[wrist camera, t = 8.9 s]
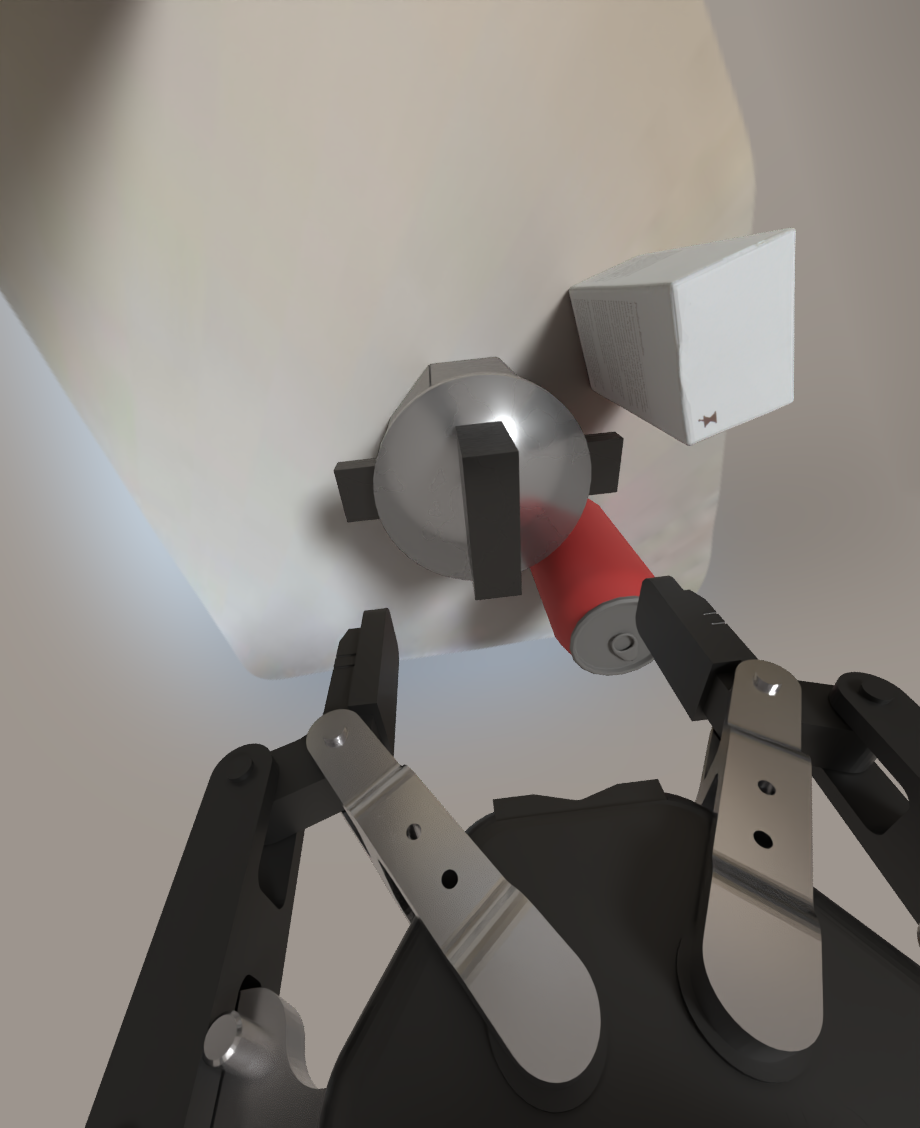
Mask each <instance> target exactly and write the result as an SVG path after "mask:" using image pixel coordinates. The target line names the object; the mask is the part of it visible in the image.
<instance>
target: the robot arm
mask: <svg viewBox="0 0 920 1128" xmlns="http://www.w3.org/2000/svg"><path fill="white" fill-rule="evenodd" d="M635 620H636V627H637V630H638V633H639V635H640V637H641V638H642V640H643V642H644V643H645V645H646V646H647V648H648V650H649V651H650V653H651V655H652V656H653V658H654V660H655V661H656V663H657V665H658V666H659V668H660V669H661V671H662V673H663V674H664V676H665V677H666V679H667V681H668V683H669V684H670V686H671V687H672V689H673V691H674V692H675V694H676V696H677V697H678V699H679V700H680V702H681V704H682V705H683V707H684V709H685V710H686V712H687V714H688V715H689V717H690V718H691V720H692V721H698V720H707V719H708V720H709V722H710V723H711V725H712V729H711V731H710V735H709V740H708V745H707V751H706V756H705V761H704V766H703V772H702V777H701V782H700V787H699V791H698V794H697V798H696V801H695V802H693V801H691V800H689V799H686V798H683V797H681V796H678V795H674V794H670V793H664V791H663V789H662V787H661V785H660V783H659V781H658V779H655V780H646V781H638V782H630V783H622V784H616V785H614V786H612V787H610V788H607V789H605V790H603V791H600V792H598V793H596V794H594V795H591V796H589V797H587V798H584V799H582V800H569V799H563V798H555V797H548V796H541V795H526V796H518V797H509V798H502V799H493V805H494V812H493V813H491V814H488V815H486V816H484V817H483V818H481V819H480V820H478V821H476V822H475V823H474V824H473V825H472V826H470V827H469V828H468V829H467V830H466V831H464V830H463V829H462V828H461V827H460V825H459V824H458V823H457V822H456V821H455V820H454V818H453V817H452V816H451V815H450V814H449V812H448V811H447V810H446V809H445V808H444V807H443V805H442V804H441V803H440V802H439V801H438V800H437V798H436V797H435V796H434V795H433V794H432V793H431V791H430V790H429V789H428V788H427V787H426V786H425V784H424V783H423V782H422V781H421V780H420V779H419V777H418V776H417V775H416V774H415V773H414V772H413V771H412V770H411V768H409V767H408V766H407V765H403V766H401V765H400V764H399V763H398V762H397V761H396V760H395V759H394V742H395V740H394V739H395V723H396V705H397V688H398V670H399V652H398V645H397V640H396V636H395V632H394V627H393V623H392V619H391V615H390V611H389V609H388V608H384V609H375V610H367V611H364V613H363V618H362V624H361V628H355V629H348V631H347V632H346V634H345V635H344V636H343V638H342V639H341V640H340V642H339V646H338V650H337V655H336V659H335V664H334V670H333V673H332V677H331V682H330V686H329V691H328V695H327V700H326V704H325V709H324V713H323V716H321V717H320V718H319V719H318V720H317V721H316V722H315V723H314V724H313V725H312V726H311V728H310V730H309V732H308V734H307V735H305V736H304V737H302V738H301V739H299V740H297V741H295V742H292V743H290V744H287V745H285V746H283V747H280V748H278V749H275V750H273V751H269V749H268V748H267V747H265V746H263V745H261V744H247V745H244V746H241V747H239V748H237V749H235V750H233V751H231V752H230V753H229V754H227V755H226V756H225V757H224V758H223V759H222V760H221V761H220V762H219V763H218V764H217V766H216V767H215V769H214V771H213V772H212V775H211V777H210V780H209V783H208V786H207V788H206V791H205V794H204V797H203V800H202V802H201V805H200V808H199V810H198V814H197V816H196V819H195V822H194V824H193V828H192V830H191V833H190V836H189V838H188V841H187V844H186V847H185V850H184V853H183V855H182V858H181V861H180V864H179V866H178V869H177V872H176V875H175V877H174V880H173V883H172V886H171V889H170V892H169V895H168V897H167V900H166V903H165V906H164V908H163V911H162V914H161V917H160V919H159V922H158V925H157V928H156V931H155V933H154V936H153V939H152V942H151V945H150V947H149V950H148V953H147V956H146V958H145V962H144V964H143V967H142V970H141V972H140V975H139V978H138V981H137V984H136V986H135V989H134V992H133V995H132V997H131V1000H130V1003H129V1006H128V1009H127V1011H126V1014H125V1017H124V1020H123V1023H122V1025H121V1028H120V1031H119V1034H118V1037H117V1039H116V1042H115V1045H114V1048H113V1050H112V1053H111V1056H110V1059H109V1062H108V1064H107V1067H106V1070H105V1073H104V1076H103V1078H102V1081H101V1084H100V1087H99V1089H98V1092H97V1095H96V1098H95V1101H94V1104H93V1106H92V1109H91V1112H90V1115H89V1117H88V1120H87V1123H86V1126H85V1128H920V966H919V965H918V964H917V963H915V962H914V961H913V960H911V959H910V958H909V957H907V956H906V955H904V954H903V953H901V952H900V951H899V950H897V949H896V948H895V947H894V946H892V945H891V944H890V943H888V942H887V941H886V940H884V939H883V938H882V937H880V936H879V935H877V934H876V933H875V932H873V931H872V930H871V929H870V928H868V927H867V926H865V925H864V924H863V923H861V922H860V921H859V920H857V919H856V918H855V917H853V916H852V915H851V914H849V913H848V912H846V911H845V910H844V909H842V908H841V907H840V906H839V905H837V904H836V903H834V902H833V901H832V900H830V899H829V898H828V897H826V896H825V895H824V894H822V893H821V892H820V891H818V890H817V889H816V888H814V887H813V849H812V848H813V846H812V777H813V778H814V779H815V781H816V782H817V784H818V785H819V786H820V788H821V789H822V790H823V792H824V793H825V795H826V796H827V798H828V799H829V800H830V802H831V803H832V805H833V806H834V807H835V809H836V810H837V812H838V813H839V814H840V816H841V817H842V818H843V820H844V821H845V823H846V824H847V825H848V827H849V828H850V830H851V831H852V833H853V834H854V835H855V837H856V838H857V840H858V841H859V842H860V844H861V845H862V847H863V848H864V849H865V851H866V852H867V853H868V855H869V856H870V858H871V859H872V861H873V862H874V863H875V865H876V866H877V867H878V869H879V870H880V872H881V873H882V875H883V876H884V877H885V879H886V880H887V882H888V883H889V884H890V886H891V887H892V889H893V890H894V891H895V893H896V894H897V896H898V897H899V898H900V899H901V901H902V902H903V904H904V905H905V907H906V908H907V909H908V911H909V912H910V914H911V915H912V917H913V918H914V919H915V921H916V922H917V924H918V925H919V926H918V930H917V939H918V943H919V947H920V707H919V706H918V705H917V704H916V703H915V702H914V701H913V700H912V699H910V697H909V696H907V694H905V693H904V692H903V691H902V690H901V689H900V688H898V687H897V686H895V685H894V684H892V683H890V682H888V681H886V680H884V679H882V678H880V677H877V676H874V675H871V674H866V673H861V672H850V673H845V674H843V675H841V676H840V677H839V679H838V680H837V682H836V683H835V685H827V684H820V683H813V682H805V681H799V680H797V679H796V678H795V677H794V676H793V675H792V674H791V673H790V672H788V671H787V670H786V669H784V668H782V667H781V666H778V665H776V664H774V663H771V662H768V661H764V660H758V659H757V658H756V656H755V655H754V654H753V653H752V652H751V651H750V650H749V648H747V646H746V645H745V644H744V643H743V642H742V640H741V639H740V638H739V637H738V636H737V635H736V634H735V632H734V631H733V630H732V629H731V628H730V627H729V626H728V624H725V621H724V620H723V619H722V618H721V617H720V615H719V614H716V611H715V610H714V609H713V607H712V606H711V605H710V604H709V603H708V602H707V601H706V600H705V599H704V598H702V597H701V596H699V595H697V594H696V593H694V592H693V591H691V590H683V589H682V588H681V587H680V585H679V584H678V583H677V582H676V581H675V579H674V578H673V577H671V576H662V577H653V578H646V579H644V580H643V582H642V585H641V590H640V595H639V600H638V605H637V610H636V616H635ZM876 758H878V759H879V761H880V762H881V763H882V764H883V765H884V766H885V768H886V769H887V770H888V771H889V772H890V773H891V774H892V775H893V777H894V778H895V779H896V780H897V781H898V782H899V783H900V785H901V786H902V787H903V789H904V790H905V792H906V794H907V796H908V799H909V801H908V800H907V799H906V798H905V797H904V796H903V794H902V793H901V792H900V791H899V790H898V788H897V787H896V786H895V785H894V784H893V783H892V781H891V780H890V779H889V778H888V777H887V776H886V774H885V773H884V772H883V771H882V770H881V769H880V768H879V766H878V765H877V764H876V763H875V762H874V761H875V760H876ZM339 812H340V813H341V814H342V816H343V817H344V819H345V820H346V822H347V824H348V825H349V827H350V828H351V830H352V832H353V833H354V835H355V836H356V838H357V839H358V841H359V843H360V844H361V846H362V847H363V849H364V851H365V852H366V854H367V855H368V856H369V858H370V860H371V862H372V863H373V865H374V866H375V868H376V870H377V871H378V873H379V875H380V877H381V879H382V880H383V882H384V884H385V886H386V887H387V889H388V890H389V892H390V894H391V895H392V897H393V898H394V900H395V902H396V903H397V905H398V906H399V908H400V910H401V911H402V913H403V914H404V916H405V918H406V919H407V921H408V922H409V924H410V926H409V928H408V930H407V931H406V933H405V935H404V937H403V939H402V941H401V943H400V944H399V946H398V948H397V950H396V952H395V953H394V955H393V957H392V959H391V961H390V963H389V964H388V967H387V968H386V970H385V972H384V974H383V976H382V977H381V979H380V981H379V983H378V985H377V986H376V988H375V990H374V992H373V994H372V996H371V997H370V999H369V1001H368V1003H367V1005H366V1006H365V1008H364V1010H363V1012H362V1014H361V1016H360V1017H359V1019H358V1021H357V1023H356V1025H355V1027H354V1028H353V1030H352V1032H351V1034H350V1036H349V1037H348V1039H347V1041H346V1043H345V1045H344V1047H343V1049H342V1050H341V1052H340V1054H339V1056H338V1059H337V1061H336V1063H335V1066H334V1068H333V1071H332V1073H331V1076H330V1079H329V1082H328V1085H327V1088H324V1089H318V1088H317V1087H316V1086H315V1085H314V1083H313V1082H312V1080H311V1078H310V1076H309V1074H308V1070H307V1066H306V1061H305V1032H304V1026H303V1022H302V1019H301V1017H300V1015H299V1013H298V1012H297V1010H296V1009H295V1008H294V1007H293V1006H291V1005H290V1004H289V1003H287V1002H286V1001H285V1000H283V999H282V998H281V997H279V994H280V988H281V981H282V975H283V968H284V962H285V954H286V948H287V942H288V935H289V928H290V922H291V915H292V909H293V902H294V896H295V890H296V883H297V877H298V870H299V864H300V857H301V851H302V844H303V837H304V831H305V829H306V828H308V827H310V826H312V825H314V824H316V823H318V822H320V821H322V820H324V819H326V818H329V817H331V816H332V815H335V814H337V813H339Z"/></svg>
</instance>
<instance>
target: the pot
mask: <svg viewBox="0 0 920 1128" xmlns="http://www.w3.org/2000/svg"><path fill="white" fill-rule="evenodd" d="M473 372H497V373H506V374H510V375H514V376H517V375H516V374H515V373H514V372H513V371H512V370H511V369H510V368H509V367H508V366H507V365H506V364H505V363H504V362H503V361H502V360H501V359H500V358H497V357H489V358H480V359H471V360H462V361H453V362H444V363H435V364H430V366H429V365H428V366H427V368H426V369H425V371H424V372H423V373H422V375H421V376H420V377H419V379H418V380H417V382H416V383H415V384H414V386H413V387H412V389H411V390H410V391H409V393H408V394H407V396H406V397H405V398H404V400H403V401H402V402H401V404H400V405H399V407H398V408H397V409H396V411H395V412H394V414H393V415H392V416H391V418H390V421H389V425H388V428H389V426H390V425H391V423H392V422H393V420H394V418H395V417H396V416H397V415H398V414H399V412H400V411H401V410H402V409H403V408H404V407H405V406H406V405H407V404H408V403H409V402H410V401H411V400H412V399H413V398H414V397H416V396H417V395H418V394H420V393H421V392H423V391H424V390H426V389H427V388H429V387H431V386H433V385H435V384H437V383H439V382H441V381H443V380H446V379H449V378H452V377H455V376H457V375H462V374H468V373H473ZM388 428H387V430H388ZM584 436H585V439H586V442H587V445H588V449H589V452H590V460H591V484H590V491H589V495H595V494H604V493H613V492H617V487H618V479H619V471H620V463H621V455H622V447H623V439H624V438H622V437H621V436H620V435H619V434H617V433H616V432H607V433H598V434H589V435H584ZM376 459H377V458H373V459H364V460H355V461H346V462H338V463H337V465H336V467H335V469H334V474H335V477H336V481H337V485H338V489H339V492H340V496H341V500H342V504H343V507H344V511H345V515H346V519H347V522H354V521H363V520H372V519H380V517H379V514H378V511H377V508H376V504H375V497H374V483H373V477H374V470H375V463H376Z"/></svg>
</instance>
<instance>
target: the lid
mask: <svg viewBox="0 0 920 1128" xmlns="http://www.w3.org/2000/svg"><path fill="white" fill-rule="evenodd" d="M373 483H374V497H375V504H376V508H377V511H378V514H379V517H380V520H381V522H382V524H383V526H384V528H385V530H386V532H387V533H388V535H389V536H390V538H391V539H392V541H393V542H394V543H395V544H396V545H397V547H398V548H399V549H400V550H401V551H402V552H403V553H404V554H406V555H407V556H408V557H409V558H410V559H412V560H413V561H414V562H416V563H417V564H419V565H421V566H422V567H424V568H426V569H428V570H430V571H432V572H435V573H437V574H440V575H443V576H447V577H451V578H456V579H462V580H472V581H473V587H474V593H475V600H482V599H491V598H499V597H508V596H517V595H522V591H521V571H523V570H526V569H528V568H530V567H531V566H533V565H535V564H537V563H539V562H540V561H542V560H543V559H545V558H546V557H547V556H549V555H550V554H551V553H552V552H553V551H555V550H556V549H557V548H558V547H559V546H560V545H561V544H562V543H563V542H564V541H565V540H566V538H567V537H568V536H569V534H570V533H571V532H572V530H573V529H574V528H575V526H576V524H577V522H578V521H579V519H580V517H581V515H582V513H583V510H584V508H585V506H586V502H587V499H588V495H589V491H590V484H591V460H590V452H589V449H588V445H587V442H586V439H585V436H584V434H583V432H582V430H581V428H580V426H579V424H578V423H577V421H576V420H575V418H574V416H573V415H572V414H571V413H570V411H569V410H568V409H567V408H566V407H565V406H564V405H563V404H562V403H561V402H560V401H559V400H558V399H557V398H555V397H554V396H553V395H552V394H551V393H549V392H548V391H547V390H545V389H544V388H542V387H540V386H539V385H537V384H535V383H533V382H531V381H529V380H526V379H524V378H521V377H518V376H514V375H510V374H506V373H497V372H473V373H468V374H462V375H457V376H455V377H452V378H449V379H446V380H443V381H441V382H439V383H437V384H435V385H433V386H431V387H429V388H427V389H426V390H424V391H423V392H421V393H420V394H418V395H417V396H416V397H414V398H413V399H412V400H411V401H410V402H409V403H408V404H407V405H406V406H405V407H404V408H403V409H402V410H401V411H400V412H399V414H398V415H397V416H396V417H395V418H394V420H393V422H392V423H391V425H390V426H389V428H388V430H387V431H386V434H385V436H384V438H383V440H382V443H381V445H380V449H379V452H378V456H377V459H376V463H375V470H374V477H373Z"/></svg>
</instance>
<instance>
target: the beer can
mask: <svg viewBox="0 0 920 1128" xmlns="http://www.w3.org/2000/svg"><path fill="white" fill-rule="evenodd" d="M530 569H531V572H532V575H533V578H534V580H535V583H536V586H537V589H538V591H539V594H540V597H541V599H542V602H543V605H544V608H545V610H546V613H547V616H548V618H549V621H550V624H551V627H552V629H553V632H554V635H555V637H556V639H557V640H558V641H559V643H560V644H561V645H562V646H563V647H564V648H565V649H566V650H567V651H568V652H569V653H570V654H571V655H572V657H573V660H574V661H575V662H576V663H577V664H578V665H579V666H580V667H581V668H582V669H584V670H587V671H589V672H591V673H593V674H600V675H607V676H609V675H619V674H625V673H628V672H632V671H635V670H638V669H640V668H641V667H643V666H645V665H647V664H649V663H651V662H652V661H653V660H654V658H653V656H652V655H651V653H650V651H649V650H648V648H647V646H646V645H645V643H644V642H643V640H642V638H641V637H640V635H639V633H638V630H637V627H636V620H635V616H636V610H637V605H638V600H639V595H640V590H641V585H642V582H643V580H644V579H646V578H653V577H654V575H653V574H652V573H651V571H650V570H649V569H648V568H647V566H646V565H645V564H644V562H643V561H642V560H641V559H640V557H639V556H638V555H637V554H636V552H635V551H634V550H633V548H632V547H631V546H630V545H629V543H628V542H627V541H626V539H625V538H624V537H623V536H622V534H621V533H620V532H619V531H618V529H617V528H616V527H615V525H614V524H613V523H612V522H611V520H610V519H609V518H608V517H607V515H606V514H605V513H604V511H603V510H602V509H601V508H600V506H599V505H597V504H596V503H594V502H593V501H591V500H590V499H587V502H586V506H585V508H584V510H583V513H582V515H581V517H580V519H579V521H578V522H577V524H576V526H575V528H574V529H573V530H572V532H571V533H570V534H569V536H568V537H567V538H566V540H565V541H564V542H563V543H562V544H561V545H560V546H559V547H558V548H557V549H556V550H555V551H553V552H552V553H551V554H550V555H549V556H547V557H546V558H545V559H543V560H542V561H540V562H539V563H537V564H535V565H533V566H531V567H530Z"/></svg>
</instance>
